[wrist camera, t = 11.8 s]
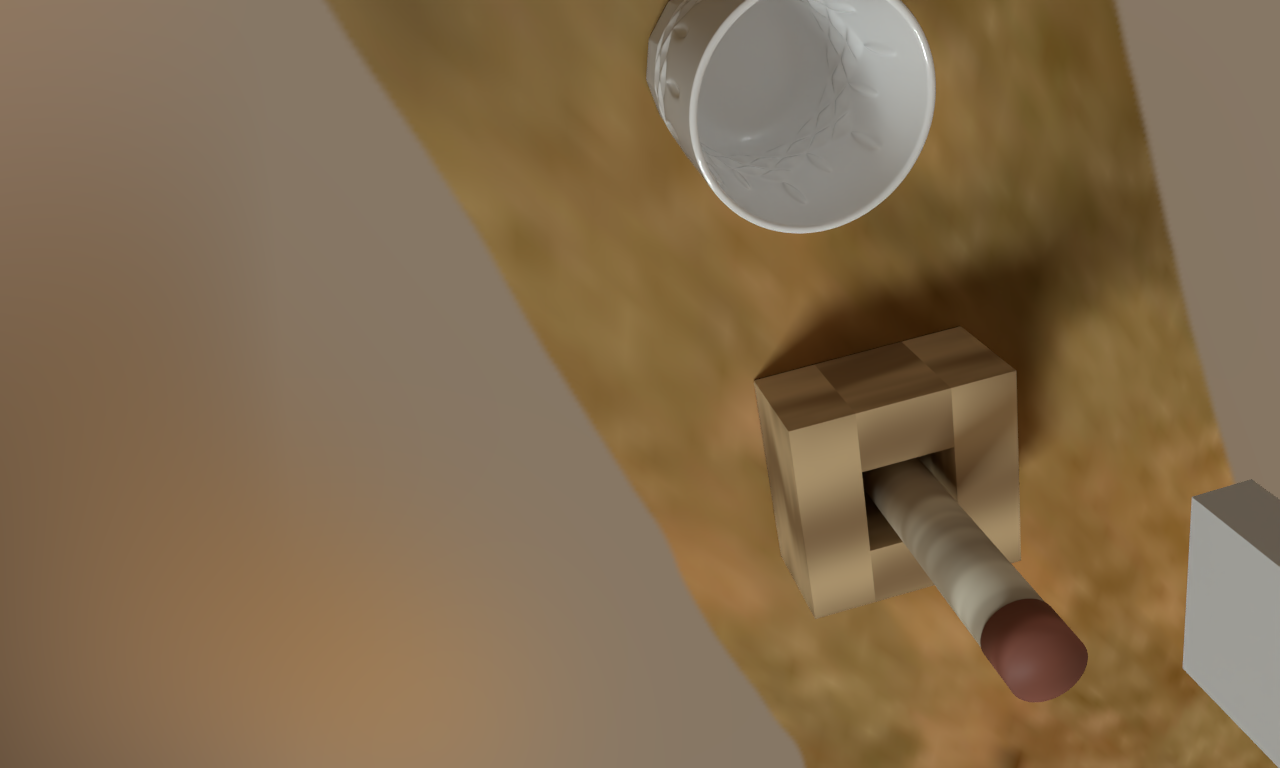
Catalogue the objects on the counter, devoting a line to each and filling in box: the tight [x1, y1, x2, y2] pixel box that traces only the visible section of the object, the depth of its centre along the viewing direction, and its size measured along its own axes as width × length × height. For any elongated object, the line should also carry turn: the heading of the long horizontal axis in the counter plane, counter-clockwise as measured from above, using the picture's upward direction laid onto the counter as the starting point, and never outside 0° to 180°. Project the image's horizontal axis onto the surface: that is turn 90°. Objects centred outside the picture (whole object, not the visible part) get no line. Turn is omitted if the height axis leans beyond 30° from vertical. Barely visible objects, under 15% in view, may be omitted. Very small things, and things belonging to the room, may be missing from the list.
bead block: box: [754, 326, 1021, 619], centre depth 47 cm, size 10×10×5 cm
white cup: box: [646, 0, 936, 233], centre depth 36 cm, size 8×8×10 cm
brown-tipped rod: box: [862, 457, 1088, 702], centre depth 42 cm, size 3×3×16 cm
